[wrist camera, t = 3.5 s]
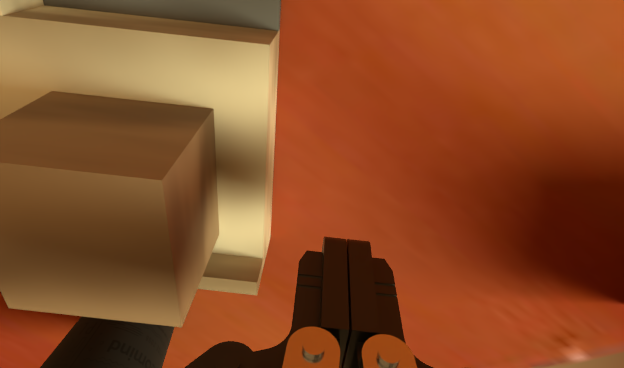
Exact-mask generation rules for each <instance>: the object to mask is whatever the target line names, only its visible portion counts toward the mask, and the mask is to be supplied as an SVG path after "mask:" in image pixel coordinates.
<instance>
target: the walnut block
mask: <svg viewBox="0 0 624 368" xmlns="http://www.w3.org/2000/svg"><path fill="white" fill-rule="evenodd" d="M218 236H219V215H218V193H217V171H216V150H215V128H214V109H212V108H203V107H194V106H185V105H175V104H166V103H157V102H148V101H139V100H130V99H121V98H112V97H103V96H94V95H84V94H75V93H66V92H57V91H51V92H49V93H47V94H45V95H44V96H42V97H40V98H38V99H36V100H35V101H33V102H31V103H29V104H27V105H26V106H24V107H22V108H20V109H18V110H16V111H15V112H13V113H11V114H9V115H7V116H6V117H4V118H2V119H0V291H1V293H2V295H3V298H4V300H5V302H6V304H7V306H8V308H12V309H21V310H30V311H39V312H47V313H56V314H65V315H74V316H83V317H92V318H101V319H110V320H119V321H128V322H137V323H146V324H155V325H164V326H173V327H182V326H183V323H184V321H185V318H186V316H187V313H188V311H189V308H190V306H191V303H192V301H193V298H194V296H195V293H196V291H197V288H198V286H199V283H200V281H201V278H202V276H203V273H204V271H205V269H206V266H207V264H208V261H209V259H210V256H211V254H212V251H213V249H214V246H215V244H216V241H217V239H218Z"/></svg>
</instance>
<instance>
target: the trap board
mask: <svg viewBox="0 0 624 368" xmlns="http://www.w3.org/2000/svg"><path fill="white" fill-rule="evenodd" d="M280 10H281V0H0V119H2V118H4V117H6V116H7V115H9V114H11V113H13V112H15V111H16V110H18V109H20V108H22V107H24V106H26V105H27V104H29V103H31V102H33V101H35V100H36V99H38V98H40V97H42V96H44V95H45V94H47V93H49V92H51V91H57V92H66V93H75V94H84V95H94V96H103V97H112V98H121V99H130V100H139V101H148V102H157V103H166V104H175V105H185V106H194V107H203V108H212V109H214V128H215V150H216V171H217V193H218V215H219V236H218V239H217V241H216V244H215V246H214V249H213V251H212V254H211V256H210V259H209V261H208V264H207V266H206V269H205V271H204V273H203V276H202V278H201V281H200V283H199V286H198V288H197V289H205V290H214V291H223V292H232V293H241V294H250V295H257V293H258V288H259V284H260V280H261V275H262V271H263V267H264V262H265V258H266V254H267V249H268V245H269V241H270V235H271V212H272V190H273V167H274V145H275V122H276V100H277V77H278V55H279V33H280Z"/></svg>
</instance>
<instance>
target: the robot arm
mask: <svg viewBox="0 0 624 368" xmlns="http://www.w3.org/2000/svg"><path fill="white" fill-rule="evenodd" d="M396 296H397V294H396V288H395V282H394V276H393V271H392V270H391V268H390V267H389V265H388V264H387V262H386V261H385V259H379V258H372V255H371V246H370V242H368V241H359V240H350V239H347V242H346V239H340V238H331V237H324V240H323V247H322V252H315V251H306V253H305V254H304V255H303V257H302V258H301V259H300V261H299V268H298V277H297V286H296V294H295V303H294V312H293V320H292V327H291V331H290V333H289V335H288V336H287V337H286V339H285V340H284V341H282V342H281V343H280V344H278V345H277V346H274V347H272V348H269V349H265V350H260V351H255V352H253V351H252V350H251V349H250V348H249V347H247V346H246V345H244V344H242V343H239V342H234V341H228V342H222V343H219V344H217V345H215V346H213V347H212V348H210V349H209V350H207V351H206V352H205V353H203V354H202V355H201V356H199V357H198V358H197V359H195V360H194V361H193V362H191V363H190V364H189V365H188V366H186V367H185V368H433V367H430V366H428V365H426V364H425V363H423V362H421V361H420V360H419V359H417V358H416V357H415V356H414V355H413V353H412V351H411V349H410V348H409V347H408V346H407V345H406V343H405V340H404V335H403V329H402V323H401V317H400V312H399V306H398V300H397V297H396Z"/></svg>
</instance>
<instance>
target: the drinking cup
mask: <svg viewBox="0 0 624 368" xmlns="http://www.w3.org/2000/svg"><path fill="white" fill-rule="evenodd" d="M173 330H174V327H173V326H164V325H155V324H146V323H137V322H128V321H119V320H110V319H101V318H92V317H83V316H82V317H81V318H80V319H79V320H78V322H77V323H76V324H75V325H74V327H73V328H72V329H71V330H70V331H69V333H68V334H67V335H66V336H65V338H64V339H63V340H62V341H61V343H60V344H59V345H58V346H57V347H56V349H55V350H54V351H53V352H52V354H51V355H50V356H49V357H48V359H47V360H46V361H45V362H44V363H43V365H42V366H41V367H40V368H162V366H163V362H164V359H165V356H166V353H167V349H168V346H169V343H170V340H171V336H172V333H173Z"/></svg>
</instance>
